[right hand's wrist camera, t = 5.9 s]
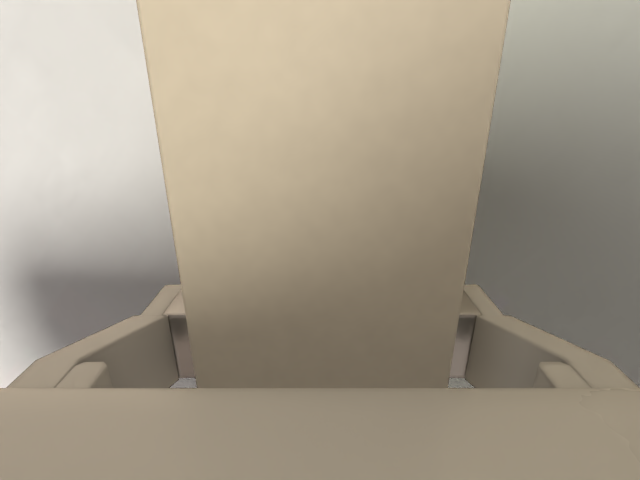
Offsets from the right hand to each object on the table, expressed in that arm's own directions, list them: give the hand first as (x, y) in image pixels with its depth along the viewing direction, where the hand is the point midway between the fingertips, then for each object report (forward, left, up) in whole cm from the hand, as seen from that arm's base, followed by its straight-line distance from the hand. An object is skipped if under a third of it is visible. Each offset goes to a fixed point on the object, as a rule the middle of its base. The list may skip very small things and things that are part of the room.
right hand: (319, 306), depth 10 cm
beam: (+16, -12, -3) cm, 20 cm away
